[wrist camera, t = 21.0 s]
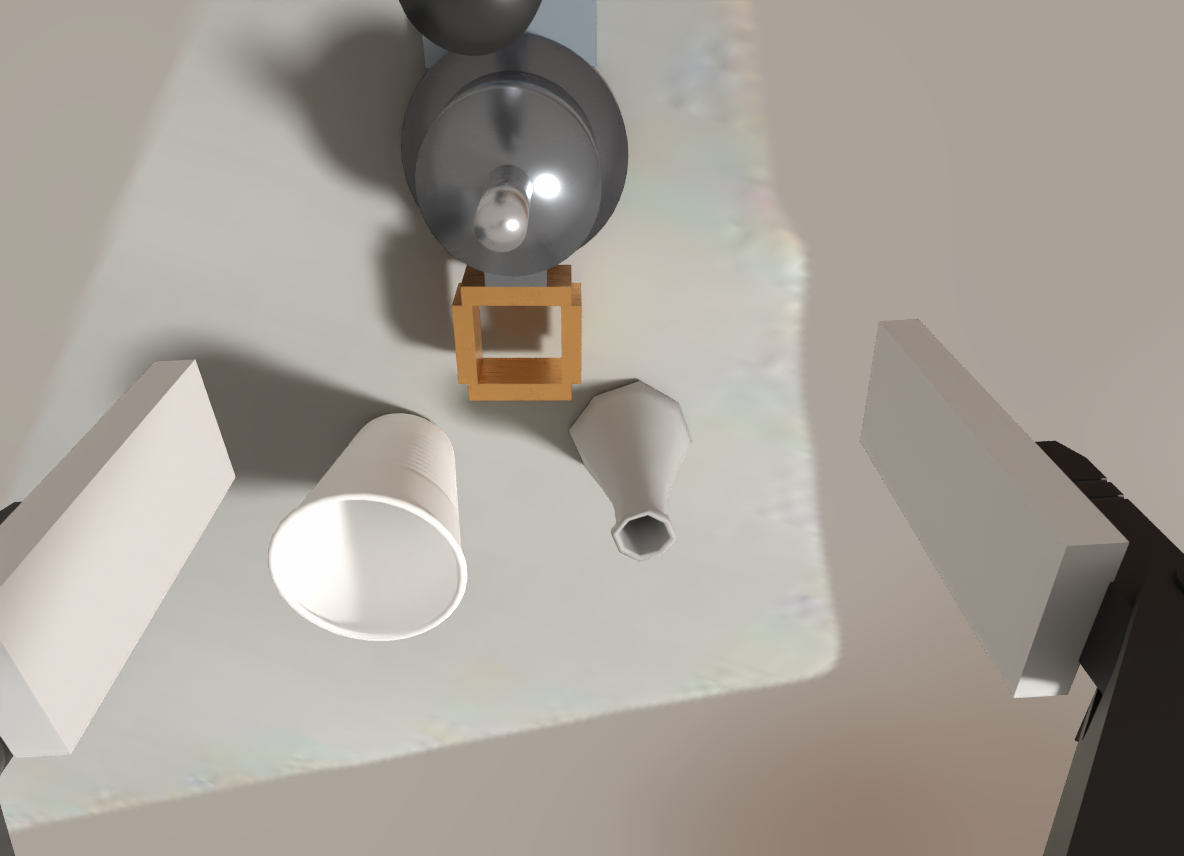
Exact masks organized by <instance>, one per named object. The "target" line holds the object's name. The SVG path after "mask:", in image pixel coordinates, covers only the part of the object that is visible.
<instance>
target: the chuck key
mask: <svg viewBox="0 0 1184 856" xmlns="http://www.w3.org/2000/svg"><path fill="white" fill-rule="evenodd" d="M542 1H543V0H399V2H400V4H401V6H402V8H403V10H404V12H405V13H406V15H407V17H408V18H409V20H410V21H411V22H412V24H413V25H414V26H415V27H416V29H417V30H418V31H419V32H420V33H421V34H422V35H423V36H425V37H426V38H427V39H428V40H430V41H431V42H432V43H434V44H436V45H437V46H439V47H441V48H443V49H445V50H447V51H449V52H453V53H456V54H460V55H467V56H481V55H488V54H491V53H494V52H497V51H500V50H502V49H504V48H506V47H507V46H509V45H510V44H512V43H513V42H515V41H516V40H517V39H518V38H519V37H520V36H521V35H522V34H523V33H524V32H525V31H526V29H527V28H528V27H529V25H530V24H531V22H532V21H533V19H534V17H535V15H536V13H537V11H538V9H539V7H540V5H541V3H542Z"/></svg>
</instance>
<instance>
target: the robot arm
mask: <svg viewBox="0 0 1184 856" xmlns="http://www.w3.org/2000/svg"><path fill="white" fill-rule="evenodd" d="M860 443H861V444H862V446H863V448H864V449H865V451H866V453H867V454H868V455H869V458H870V459H871V461H872V463H873V464H874V466H875V468H876V469H877V471H878V473H879V474H880V476H881V478H882V480H883V481H884V483H885V484H886V486H887V488H888V489H889V491H890V493H891V495H892V496H893V498H894V500H895V501H896V503H897V504H898V506H899V508H900V510H901V511H902V513H903V515H904V516H905V518H906V520H907V521H908V523H909V524H910V526H911V528H912V530H913V531H914V533H915V534H916V536H917V538H918V540H919V541H920V543H921V545H922V546H923V548H924V549H925V551H926V553H927V555H928V556H929V558H930V560H931V561H932V563H933V565H934V566H935V568H936V570H937V571H938V573H939V575H940V576H941V578H942V580H943V581H944V583H945V584H946V586H947V588H948V590H949V591H950V593H951V595H952V596H953V598H954V600H955V601H956V603H957V605H958V606H959V608H960V610H961V611H962V613H963V615H964V616H965V618H966V620H967V621H968V623H969V625H970V626H971V628H972V630H973V631H974V633H975V635H976V636H977V638H978V640H979V641H980V643H981V645H982V646H983V648H984V650H985V651H986V653H987V654H988V656H989V658H990V660H991V661H992V663H993V664H994V666H995V668H996V670H997V671H998V673H999V675H1000V676H1001V678H1002V679H1003V681H1004V683H1005V685H1006V686H1007V688H1008V690H1009V691H1010V693H1011V695H1012V696H1013V698H1020V697H1037V696H1053V695H1067V694H1068V693H1069V690H1070V688H1071V685H1072V683H1073V680H1074V678H1075V675H1076V673H1077V670H1078V668H1079V666H1080V664H1081V665H1082V667H1083V668H1084V670H1085V671H1086V672H1087V674H1088V675H1089V676H1090V678H1091V679H1092V681H1093V682H1094V683H1095V685H1096V686H1097V689H1096V691H1095V694H1094V696H1093V698H1092V701H1091V703H1090V705H1089V708H1088V710H1087V712H1086V715H1085V717H1084V719H1083V721H1082V724H1081V726H1080V728H1079V731H1078V733H1077V735H1076V738H1075V741H1078V744H1077V748H1076V751H1075V754H1074V757H1073V760H1072V764H1071V767H1070V770H1069V774H1068V777H1067V780H1066V783H1065V786H1064V789H1063V793H1062V796H1061V799H1060V802H1059V806H1058V809H1057V812H1056V815H1055V818H1054V822H1053V825H1052V828H1051V831H1050V834H1049V838H1048V841H1047V844H1046V847H1045V851H1044V854H1043V856H1184V554H1183V553H1182V552H1181V551H1180V550H1179V549H1178V548H1177V547H1176V546H1175V545H1174V544H1173V543H1172V542H1171V541H1170V540H1169V539H1168V538H1167V537H1166V536H1165V535H1164V534H1163V533H1162V532H1161V531H1160V530H1159V529H1158V528H1157V527H1156V526H1155V525H1154V524H1153V523H1152V522H1151V521H1149V519H1148V518H1147V517H1146V516H1145V515H1144V514H1143V513H1142V512H1141V511H1140V510H1139V509H1138V508H1137V507H1136V506H1135V505H1134V504H1133V503H1132V502H1131V501H1129V500H1128V499H1124V497H1123V496H1124V495H1123V494H1122V493H1121V492H1120V491H1119V490H1118V489H1117V488H1116V487H1115V486H1114V485H1113V484H1112V483H1111V482H1107V478H1106V477H1105V476H1104V475H1103V474H1102V473H1101V472H1100V471H1099V470H1098V469H1097V468H1096V467H1095V466H1094V465H1093V464H1092V463H1091V462H1090V461H1089V460H1088V459H1087V458H1086V457H1084V456H1082V455H1080V454H1079V453H1077V452H1075V451H1073V450H1071V449H1070V448H1067V447H1066V446H1064V445H1062V444H1060V443H1059V442H1057V441H1041V442H1034V441H1033V440H1032V439H1031V438H1030V437H1029V436H1028V434H1027V433H1026V432H1025V431H1024V430H1023V429H1022V428H1021V427H1020V426H1019V425H1018V424H1017V423H1016V422H1015V421H1014V420H1013V419H1012V417H1011V416H1010V415H1009V414H1008V413H1007V412H1006V411H1005V410H1004V409H1003V408H1002V407H1001V406H1000V405H999V404H998V403H997V402H996V401H995V400H994V398H993V397H992V396H991V395H990V394H989V393H988V392H987V391H986V390H985V389H984V388H983V387H982V386H981V385H980V384H979V383H978V381H977V380H976V379H975V378H974V377H973V376H972V375H971V374H970V373H969V372H968V371H967V370H966V369H965V368H964V367H963V366H962V365H961V363H960V362H959V361H958V360H957V359H956V358H955V357H954V356H953V355H952V354H951V353H950V352H949V351H948V350H947V349H946V348H945V347H944V346H943V344H942V343H940V341H939V340H938V339H937V338H936V337H935V336H934V335H933V334H932V333H931V332H930V331H929V330H928V329H927V328H926V326H925V325H924V324H923V323H922V322H921V321H920V320H919V319H911V320H893V321H879V324H878V331H877V336H876V343H875V349H874V355H873V362H872V368H871V374H870V380H869V387H868V393H867V399H866V405H865V412H864V418H863V424H862V430H861V437H860ZM234 479H235V474H234V471H233V468H232V465H231V462H230V459H229V456H228V453H227V450H226V447H225V444H224V442H223V439H222V436H221V433H220V430H219V427H218V424H217V421H216V418H215V415H214V412H213V409H212V407H211V404H210V401H209V398H208V395H207V392H206V389H205V386H204V383H203V380H202V377H201V374H200V372H199V369H198V366H197V363H196V360H195V359H191V360H173V361H155V362H154V363H153V364H152V365H151V366H150V367H149V368H148V370H147V371H146V372H145V373H144V374H143V375H142V376H141V377H140V378H139V379H138V380H137V381H136V382H135V383H134V384H133V385H132V386H131V387H130V389H129V390H128V391H127V392H126V393H125V394H124V395H123V396H122V397H121V398H120V399H119V400H118V401H117V402H116V403H115V404H114V405H113V407H112V408H111V409H110V410H109V411H108V412H107V413H106V414H105V415H104V416H103V417H102V418H101V419H100V420H99V421H98V422H97V423H96V424H95V426H94V427H93V428H92V429H91V430H90V431H89V432H88V433H87V434H86V435H85V436H84V437H83V438H82V439H81V440H80V441H79V442H78V444H77V445H76V446H75V447H74V448H73V449H72V450H71V451H70V452H69V453H68V454H67V455H66V456H65V457H64V458H63V459H62V460H61V461H60V463H59V464H58V465H57V466H56V467H55V468H54V469H53V470H52V471H51V472H50V473H49V474H48V475H47V476H46V477H45V478H44V479H43V481H42V482H41V483H40V484H39V485H38V486H37V487H36V488H35V489H34V490H33V491H32V492H31V493H30V494H29V495H28V496H27V497H26V498H25V500H24V501H23V502H14V503H12V504H11V505H9V506H8V507H6V508H4V509H3V510H1V511H0V775H1V773H2V772H3V770H4V769H5V767H6V766H7V764H8V763H9V761H10V760H11V759H12V757H13V756H14V757H15V758H20V757H36V756H53V755H70V754H71V753H72V751H73V750H74V748H75V746H76V745H77V743H78V741H79V740H80V738H81V736H82V735H83V733H84V731H85V730H86V728H87V726H88V725H89V723H90V721H91V719H92V718H93V716H94V714H95V713H96V711H97V709H98V708H99V706H100V704H101V703H102V701H103V699H104V698H105V696H106V694H107V693H108V691H109V689H110V688H111V686H112V684H113V682H114V681H115V679H116V677H117V676H118V674H119V672H120V671H121V669H122V667H123V666H124V664H125V662H126V661H127V659H128V657H129V656H130V654H131V652H132V651H133V649H134V647H135V645H136V644H137V642H138V640H139V639H140V637H141V635H142V634H143V632H144V630H145V629H146V627H147V625H148V624H149V622H150V620H151V619H152V617H153V615H154V614H155V612H156V610H157V608H158V607H159V605H160V603H161V602H162V600H163V598H164V597H165V595H166V593H167V592H168V590H169V588H170V587H171V585H172V583H173V582H174V580H175V578H176V577H177V575H178V573H179V571H180V570H181V568H182V566H183V565H184V563H185V561H186V560H187V558H188V556H189V555H190V553H191V551H192V550H193V548H194V546H195V545H196V543H197V541H198V540H199V538H200V536H201V535H202V533H203V531H204V529H205V528H206V526H207V524H208V523H209V521H210V519H211V518H212V516H213V514H214V513H215V511H216V509H217V508H218V506H219V504H220V503H221V501H222V499H223V498H224V496H225V494H226V492H227V491H228V489H229V487H230V486H231V484H232V482H233V481H234ZM0 856H15V854H14V850H13V847H12V844H11V840H10V837H9V833H8V830H7V826H6V823H5V820H4V816H3V813H2V809H1V806H0Z"/></svg>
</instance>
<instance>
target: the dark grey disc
mask: <svg viewBox="0 0 1184 856" xmlns="http://www.w3.org/2000/svg"><path fill="white" fill-rule="evenodd" d="M499 71H524V72H528V73H533V74H536V75H539V76H541V77H544V78H546V79H548V80H550V81H552V82H554V83H556V84H557V85H559V86H560V87H561V88H563V89H564V90H565V91H566V92H568V93H569V94H570V95H571V96H572V97H573V98H574V99H575V101H576V102H577V103H578V104H579V105H580V107H581V108H582V110H583V111H584V113H585V115H586V116H587V118H588V120H589V122H590V125H591V127H592V130H593V133H594V136H595V140H596V145H597V151H598V158H599V166H600V173H601V186H602V191H601V202H600V206H599V211H598V214H597V217H596V220H595V223H594V225H593V227H592V229H591V231H590V233H589V235H588V236H587V237H586V239H585V240H584V242H583V243H582V244H581V245H580V247H579V248H581V247H582V246H584V245H585V244H586V243H588V242H589V241H590V240H591V239H592V238H593V237H594V236H595V235H596V234H597V233H598V232H599V231H600V230H601V229H602V228H603V226H604V225H605V224H606V223H607V221H608V220H609V218H610V217H611V215H612V214H613V212H614V210H615V208H616V206H617V204H618V202H619V200H620V197H621V194H622V191H623V188H624V184H625V179H626V175H627V167H628V142H627V136H626V130H625V125H624V122H623V119H622V116H621V112H620V109H619V106H618V104H617V101H616V99H615V97H614V95H613V93H612V91H611V89H610V88H609V86H608V84H607V83H606V81H605V80H604V78H603V77H602V76H601V74H600V73H599V72H598V71H597V70H596V68H595V67H594V66H591V65H590V64H589V63H588V62H587V61H585V60H584V59H583V58H582V57H581V56H579V55H578V54H577V53H575V52H574V51H572V50H571V49H569V48H568V47H566V46H564V45H562V44H560V43H558V42H556V41H554V40H551V39H548V38H545V37H542V36H539V35H534V34H529V33H523V34H522V35H521V36H520V37H519V38H518V39H517V40H516V41H515V42H513V43H512V44H510V45H509V46H507V47H506V48H504V49H502V50H500V51H497V52H494V53H491V54H488V55H481V56H467V55H460V54H456V53H453V52H448V53H447V54H445V55H444V56H443V57H442V58H440V59H439V60H438V61H437V62H436V63H435V64H434V65H433V66H432V67H431V69H430V70H429V71H428V72H427V73H426V74H425V76H424V77H423V78H422V80H421V81H420V83H419V84H418V86H417V87H416V89H415V91H414V93H413V95H412V97H411V99H410V102H409V105H408V108H407V111H406V114H405V118H404V124H403V129H402V143H401V148H402V161H403V166H404V171H405V176H406V179H407V182H408V185H409V188H410V191H411V193H412V195H413V197H414V199H415V201H416V204H417V205H418V207H419V208H420V206H419V203H418V199H417V194H416V186H415V171H416V162H417V158H418V154H419V150H420V147H421V145H422V142H423V140H424V138H425V136H426V134H427V132H428V131H429V129H430V127H431V126H432V124H433V123H434V122H435V120H436V119H437V117H438V116H439V114H440V113H441V111H442V110H443V109H444V107H445V106H446V104H447V103H448V102H449V100H450V99H451V98H452V97H453V96H454V95H455V94H456V93H457V92H458V91H459V90H460V89H461V88H462V87H464V86H465V85H466V84H468V83H469V82H471V81H473V80H475V79H477V78H479V77H481V76H484V75H487V74H489V73H494V72H499ZM579 248H578V249H579ZM578 249H577V250H578Z"/></svg>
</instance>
